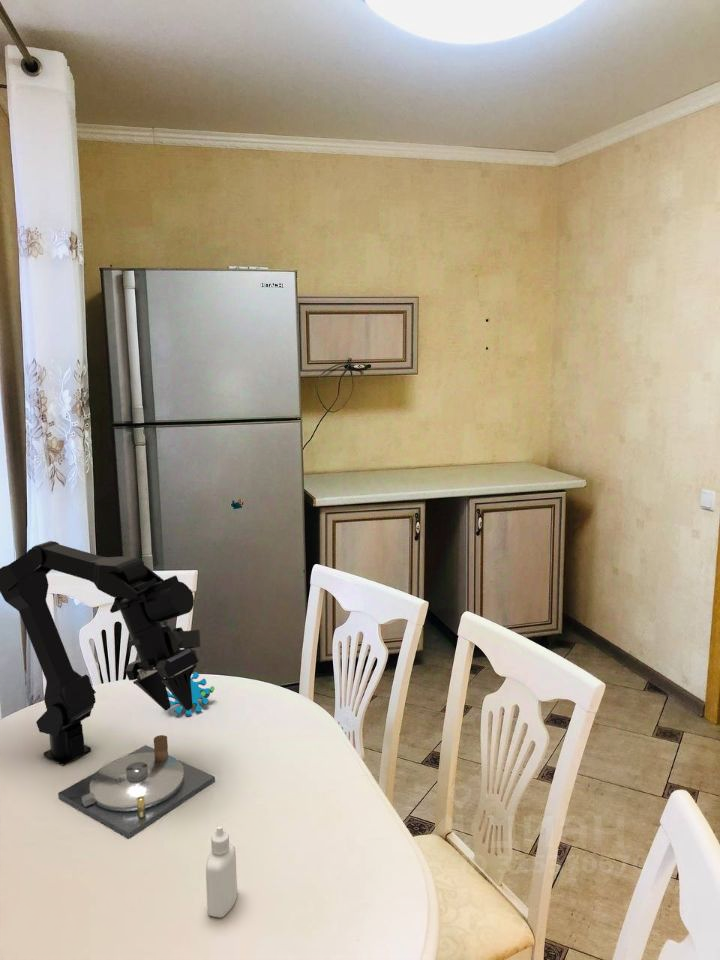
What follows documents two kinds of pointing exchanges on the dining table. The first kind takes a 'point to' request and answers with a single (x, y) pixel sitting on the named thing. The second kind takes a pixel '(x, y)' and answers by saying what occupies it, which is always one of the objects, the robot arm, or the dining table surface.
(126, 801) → the metal crank wheel
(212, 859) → the eye dropper bottle
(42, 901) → the dining table surface
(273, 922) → the dining table surface
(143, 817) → the base
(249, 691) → the dining table surface
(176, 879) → the dining table surface
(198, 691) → the gear
